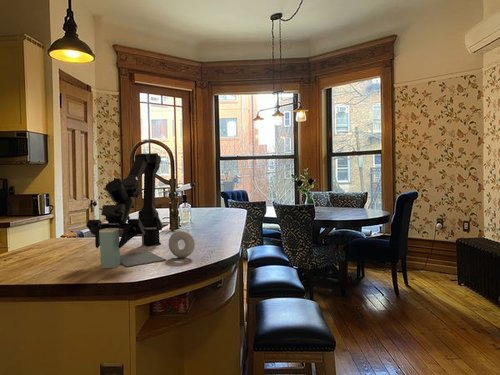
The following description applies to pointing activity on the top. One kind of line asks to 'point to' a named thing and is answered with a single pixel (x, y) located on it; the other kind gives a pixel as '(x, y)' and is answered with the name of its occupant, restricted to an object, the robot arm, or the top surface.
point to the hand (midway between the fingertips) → (107, 247)
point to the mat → (139, 259)
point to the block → (109, 247)
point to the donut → (186, 238)
